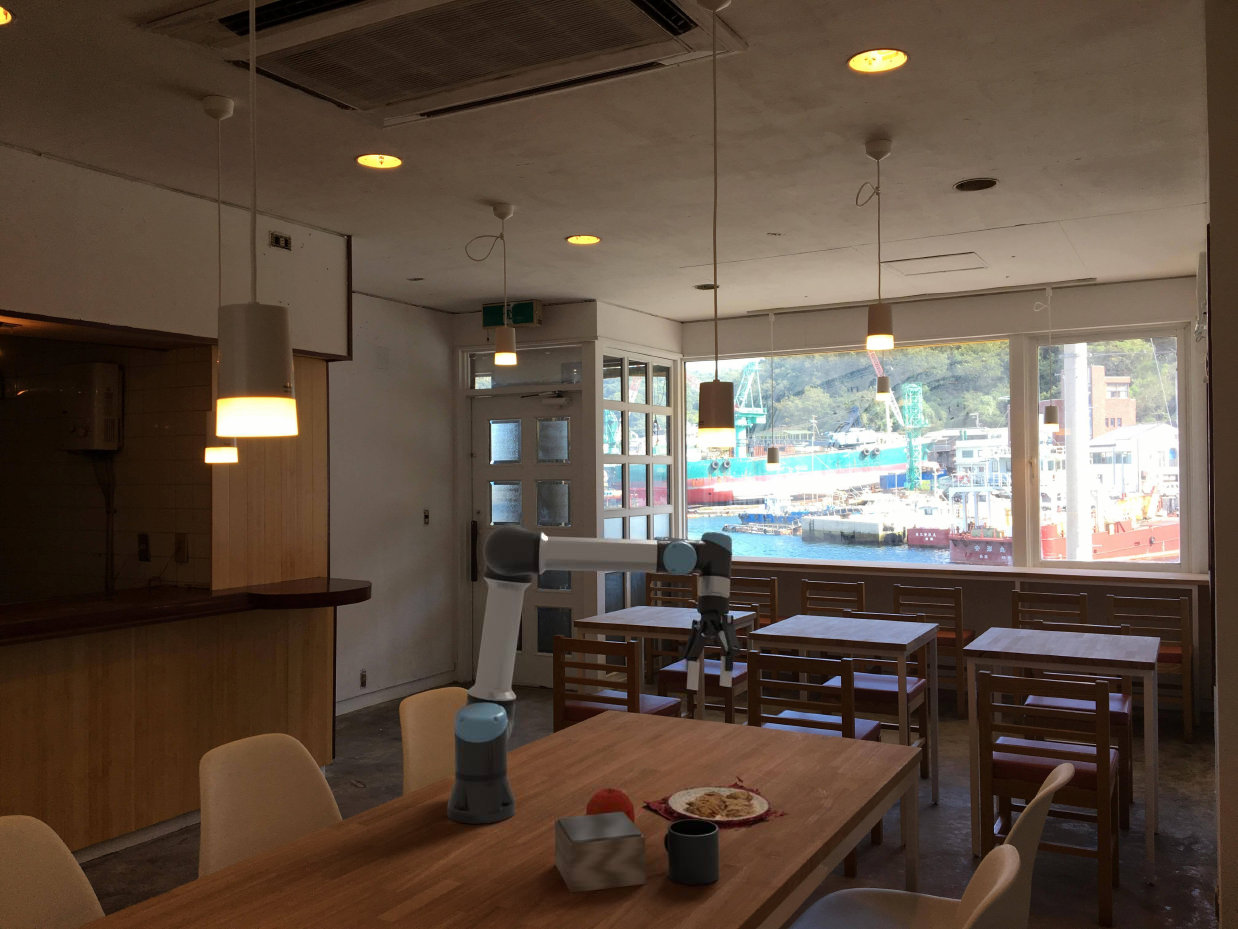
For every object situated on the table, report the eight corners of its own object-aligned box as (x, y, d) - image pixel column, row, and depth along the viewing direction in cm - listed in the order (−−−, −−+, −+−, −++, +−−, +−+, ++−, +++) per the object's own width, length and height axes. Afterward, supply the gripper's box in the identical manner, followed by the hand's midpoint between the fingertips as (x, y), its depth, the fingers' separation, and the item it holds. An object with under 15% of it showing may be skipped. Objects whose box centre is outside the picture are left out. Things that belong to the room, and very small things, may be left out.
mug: (681, 859, 193) (680, 812, 193) (729, 875, 184) (728, 826, 185) (648, 873, 186) (647, 824, 186) (696, 890, 178) (695, 839, 178)
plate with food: (642, 809, 226) (641, 793, 226) (736, 788, 239) (736, 773, 239) (701, 844, 205) (701, 826, 205) (802, 818, 218) (801, 802, 218)
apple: (579, 839, 205) (578, 783, 205) (624, 832, 209) (623, 777, 209) (595, 855, 196) (594, 796, 196) (642, 848, 199) (641, 790, 199)
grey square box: (570, 892, 177) (570, 842, 178) (555, 864, 191) (554, 817, 191) (645, 883, 181) (644, 834, 181) (625, 857, 195) (624, 810, 195)
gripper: (758, 593, 226) (754, 687, 219) (697, 606, 247) (692, 692, 240) (731, 587, 223) (726, 682, 216) (672, 601, 244) (666, 688, 237)
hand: (708, 688), depth 228 cm, fingers open, 13 cm apart
